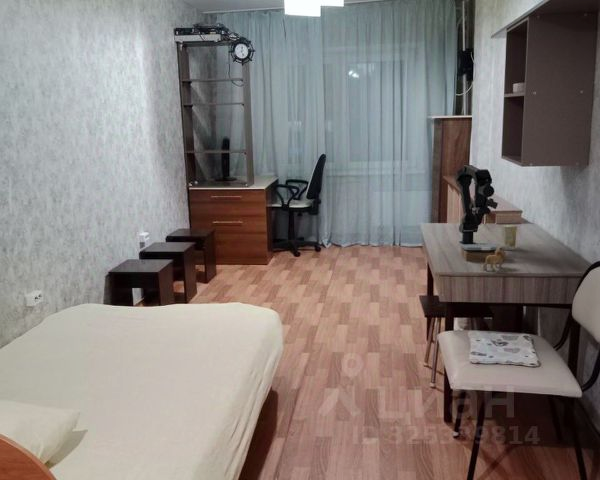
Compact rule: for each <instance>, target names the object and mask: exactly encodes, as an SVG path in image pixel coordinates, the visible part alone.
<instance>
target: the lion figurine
mask: <svg viewBox="0 0 600 480" xmlns="http://www.w3.org/2000/svg"><path fill="white" fill-rule="evenodd" d="M504 253H505V254H504ZM504 255H505V256H506V252H505V250H504V249H503V248H502V247H498V248H497V249H496V251H495V255H489V256H487V257H486V261H484V263H483V266H482V270H483V271H485V272H487V270H488V269H487V268H488V267H487V265H488V264H490V269H491V270H492V271H495V270H496V269H495V268H497V263H499V268H500V269H502V268H503V265H502V264H503V261H502V260H503V259H504Z"/></svg>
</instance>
